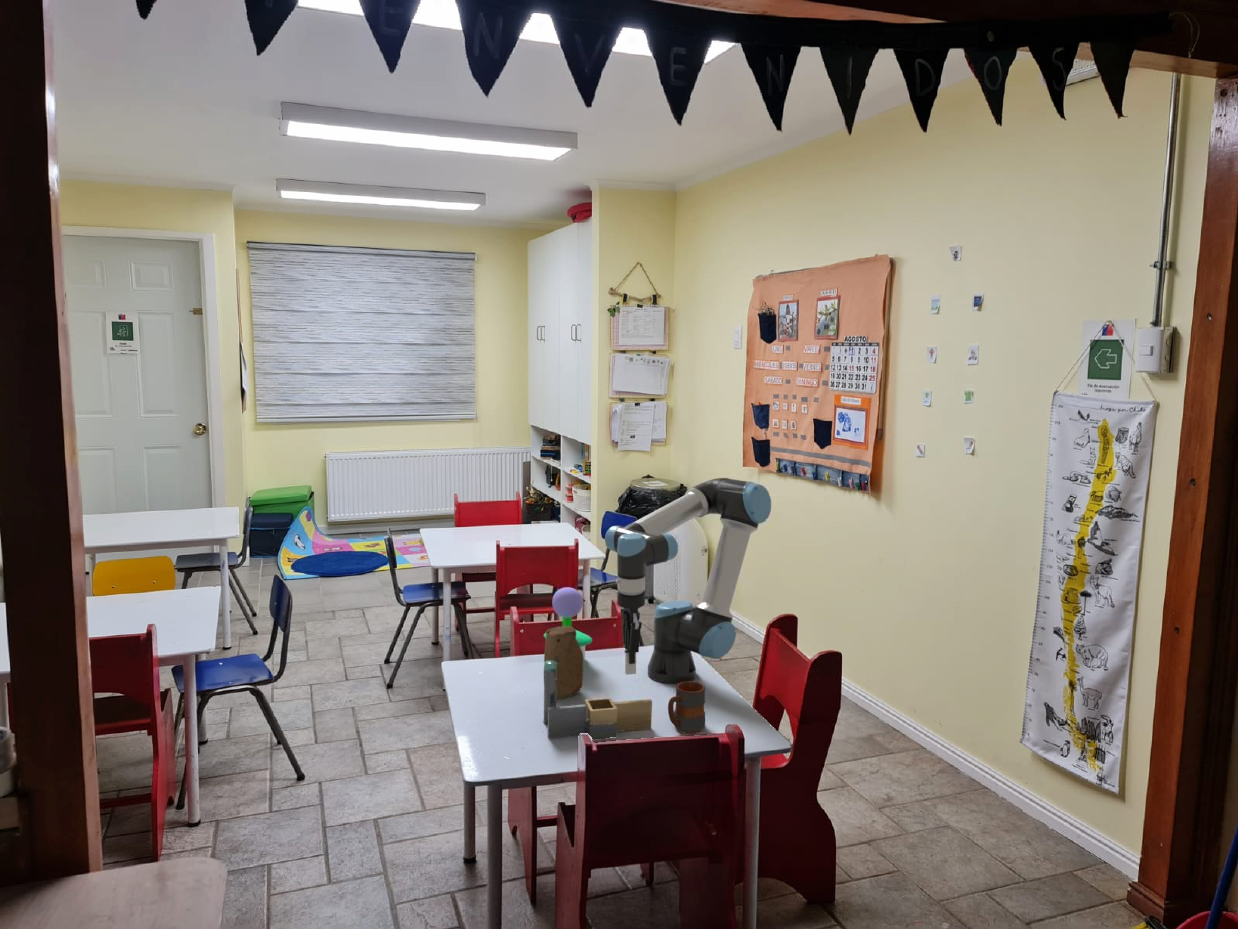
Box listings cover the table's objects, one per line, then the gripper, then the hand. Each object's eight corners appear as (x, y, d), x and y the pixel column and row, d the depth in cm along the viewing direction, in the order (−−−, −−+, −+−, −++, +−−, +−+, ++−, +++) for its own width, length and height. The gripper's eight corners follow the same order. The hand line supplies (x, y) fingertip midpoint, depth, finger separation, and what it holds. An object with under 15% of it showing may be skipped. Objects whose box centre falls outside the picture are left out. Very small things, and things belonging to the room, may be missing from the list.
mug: (657, 728, 232) (658, 687, 230) (690, 717, 239) (691, 677, 238) (678, 741, 225) (680, 698, 224) (711, 729, 233) (713, 688, 231)
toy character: (598, 665, 276) (599, 589, 272) (567, 674, 268) (568, 596, 264) (568, 651, 288) (570, 578, 284) (538, 659, 280) (539, 585, 276)
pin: (555, 719, 236) (555, 660, 234) (557, 724, 233) (558, 664, 231) (542, 720, 236) (543, 660, 233) (544, 725, 232) (545, 665, 230)
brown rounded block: (551, 701, 248) (551, 635, 245) (541, 691, 254) (542, 627, 251) (585, 695, 252) (586, 630, 250) (575, 686, 259) (576, 622, 256)
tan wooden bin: (646, 721, 235) (647, 694, 234) (654, 733, 229) (655, 705, 227) (584, 727, 231) (584, 699, 230) (589, 739, 224) (590, 711, 223)
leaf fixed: (610, 726, 233) (610, 697, 232) (616, 738, 226) (617, 708, 225) (545, 731, 229) (546, 702, 228) (550, 744, 222) (550, 714, 221)
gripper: (611, 584, 238) (611, 665, 242) (623, 599, 226) (623, 684, 230) (637, 583, 240) (637, 662, 244) (651, 597, 227) (650, 681, 231)
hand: (630, 673), depth 237 cm, fingers closed
